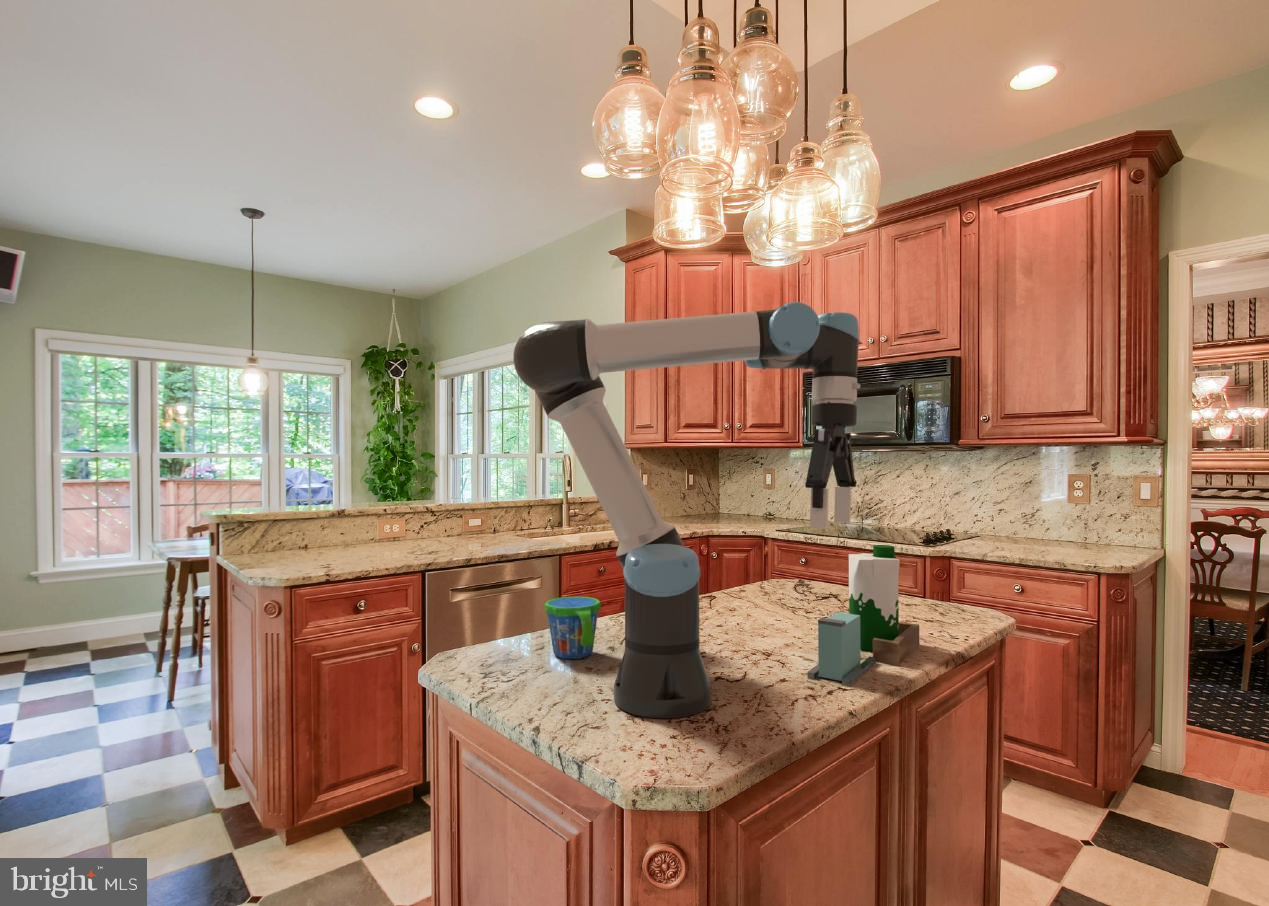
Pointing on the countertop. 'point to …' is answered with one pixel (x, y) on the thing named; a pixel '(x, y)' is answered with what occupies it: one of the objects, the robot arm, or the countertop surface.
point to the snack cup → (572, 625)
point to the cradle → (897, 645)
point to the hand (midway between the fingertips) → (831, 525)
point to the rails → (852, 676)
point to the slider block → (838, 645)
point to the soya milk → (875, 594)
